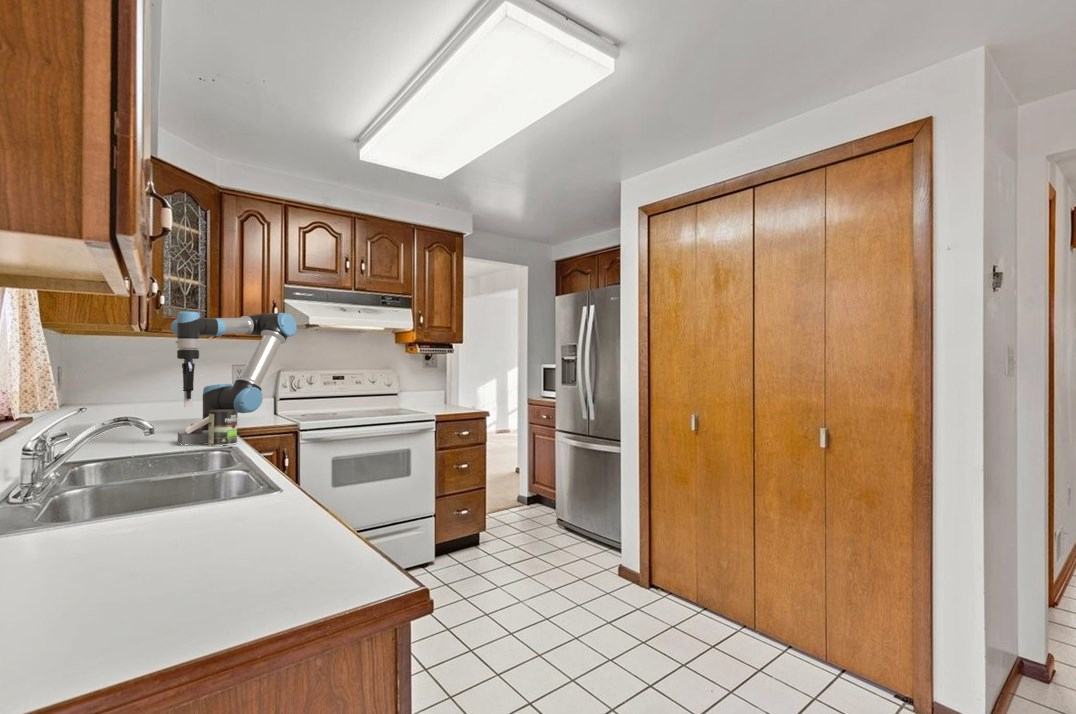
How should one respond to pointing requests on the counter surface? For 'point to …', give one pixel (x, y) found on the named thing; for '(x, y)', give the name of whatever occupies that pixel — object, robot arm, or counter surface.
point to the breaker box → (193, 437)
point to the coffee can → (222, 427)
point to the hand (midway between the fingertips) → (188, 406)
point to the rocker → (197, 425)
